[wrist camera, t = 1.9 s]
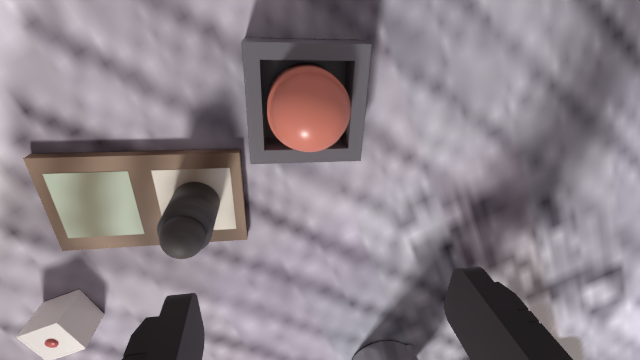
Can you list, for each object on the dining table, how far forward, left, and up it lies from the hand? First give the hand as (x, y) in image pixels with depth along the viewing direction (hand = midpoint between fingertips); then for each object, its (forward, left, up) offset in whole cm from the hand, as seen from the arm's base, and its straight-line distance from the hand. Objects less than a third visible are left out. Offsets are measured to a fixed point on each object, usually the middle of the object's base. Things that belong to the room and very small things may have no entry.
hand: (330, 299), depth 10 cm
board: (+14, +9, -23) cm, 28 cm away
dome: (-1, -1, -20) cm, 20 cm away
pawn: (+9, +9, -22) cm, 25 cm away
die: (+25, +23, -23) cm, 41 cm away
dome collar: (-1, -1, -23) cm, 23 cm away
